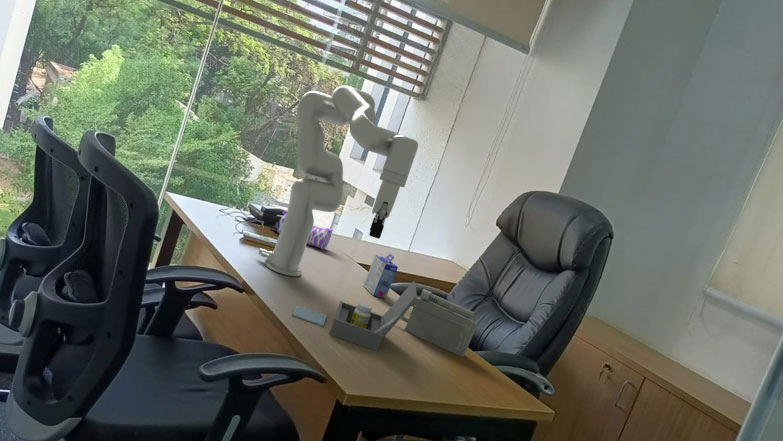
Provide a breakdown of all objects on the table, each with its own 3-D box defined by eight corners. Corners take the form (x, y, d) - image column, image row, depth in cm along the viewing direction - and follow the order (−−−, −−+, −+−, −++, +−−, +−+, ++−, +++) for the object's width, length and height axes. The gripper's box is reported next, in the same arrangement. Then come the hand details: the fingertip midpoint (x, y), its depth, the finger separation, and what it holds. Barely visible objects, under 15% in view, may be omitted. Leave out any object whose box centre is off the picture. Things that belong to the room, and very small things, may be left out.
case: (328, 335, 178) (350, 274, 175) (335, 315, 196) (355, 260, 193) (394, 358, 179) (417, 298, 176) (395, 336, 197) (415, 281, 194)
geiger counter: (482, 312, 202) (408, 280, 209) (478, 316, 196) (402, 282, 203) (466, 354, 204) (393, 320, 211) (461, 359, 198) (386, 324, 205)
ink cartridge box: (386, 299, 233) (401, 260, 230) (373, 296, 230) (387, 257, 228) (375, 288, 241) (389, 251, 239) (362, 285, 239) (376, 248, 236)
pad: (291, 315, 182) (292, 314, 182) (296, 306, 191) (297, 305, 191) (323, 326, 183) (323, 325, 183) (326, 316, 192) (327, 315, 191)
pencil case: (272, 233, 268) (279, 211, 266) (278, 230, 277) (286, 208, 275) (323, 252, 266) (331, 230, 265) (328, 249, 275) (336, 228, 274)
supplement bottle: (347, 327, 190) (357, 299, 188) (362, 332, 190) (372, 305, 189) (347, 332, 185) (357, 305, 184) (363, 338, 185) (373, 310, 184)
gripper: (381, 172, 200) (363, 226, 202) (380, 176, 183) (361, 234, 185) (405, 180, 201) (386, 234, 203) (406, 185, 183) (386, 243, 186)
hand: (374, 234), depth 194 cm, fingers open, 9 cm apart
